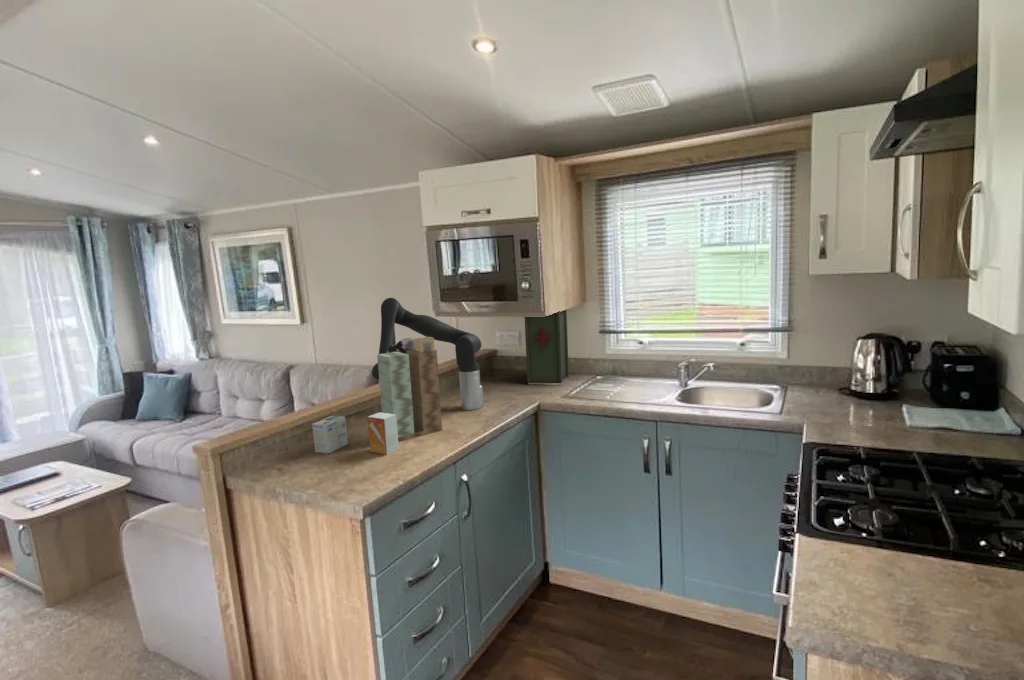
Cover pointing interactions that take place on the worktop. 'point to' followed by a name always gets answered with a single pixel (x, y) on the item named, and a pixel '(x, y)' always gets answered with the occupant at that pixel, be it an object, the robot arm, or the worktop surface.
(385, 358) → the green brown tall block
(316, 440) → the light bulb box
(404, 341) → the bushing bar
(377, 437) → the small box
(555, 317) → the first aid box
